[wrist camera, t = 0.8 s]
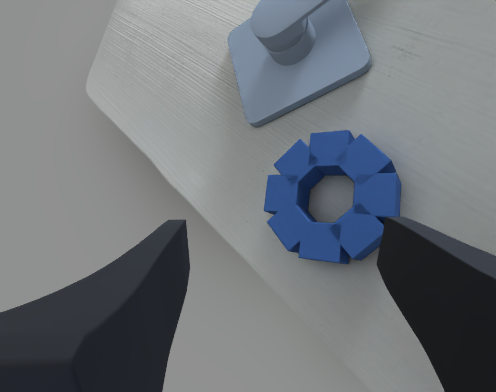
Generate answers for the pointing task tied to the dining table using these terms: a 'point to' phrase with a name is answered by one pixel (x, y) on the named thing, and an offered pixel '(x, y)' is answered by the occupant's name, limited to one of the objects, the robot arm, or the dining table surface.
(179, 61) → the dining table surface
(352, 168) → the ring
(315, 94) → the shower valve
